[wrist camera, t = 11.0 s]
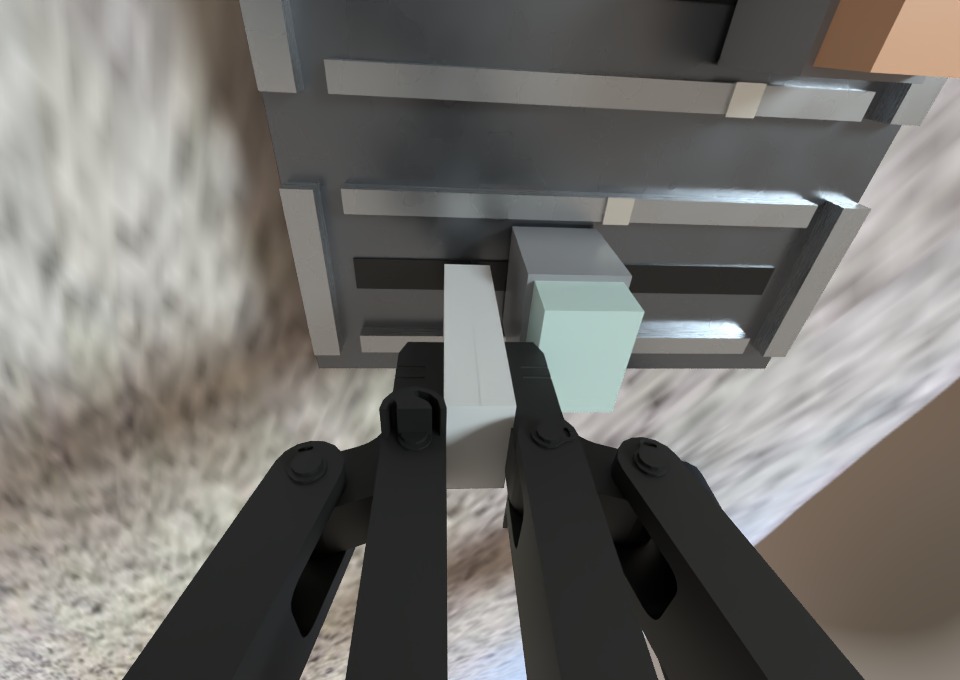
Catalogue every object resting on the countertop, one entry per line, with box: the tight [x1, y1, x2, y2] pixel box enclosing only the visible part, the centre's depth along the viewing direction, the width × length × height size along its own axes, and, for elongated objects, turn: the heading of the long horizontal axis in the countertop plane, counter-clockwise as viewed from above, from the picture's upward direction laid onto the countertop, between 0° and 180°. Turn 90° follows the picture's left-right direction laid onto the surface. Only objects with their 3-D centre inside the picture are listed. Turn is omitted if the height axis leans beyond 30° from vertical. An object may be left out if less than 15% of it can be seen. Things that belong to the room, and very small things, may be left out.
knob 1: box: [503, 226, 644, 412], centre depth 14 cm, size 4×3×5 cm
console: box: [239, 0, 948, 368], centre depth 14 cm, size 18×20×3 cm
